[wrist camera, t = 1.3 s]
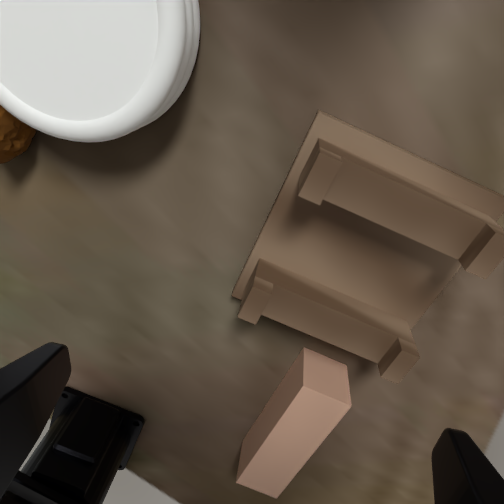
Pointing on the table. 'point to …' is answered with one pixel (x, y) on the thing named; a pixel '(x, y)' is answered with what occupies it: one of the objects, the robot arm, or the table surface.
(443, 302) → the table surface
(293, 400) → the pinkish tan rectangular block
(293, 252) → the tan two-rail tray
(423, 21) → the table surface
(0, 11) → the coaster
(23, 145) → the primitive tool
